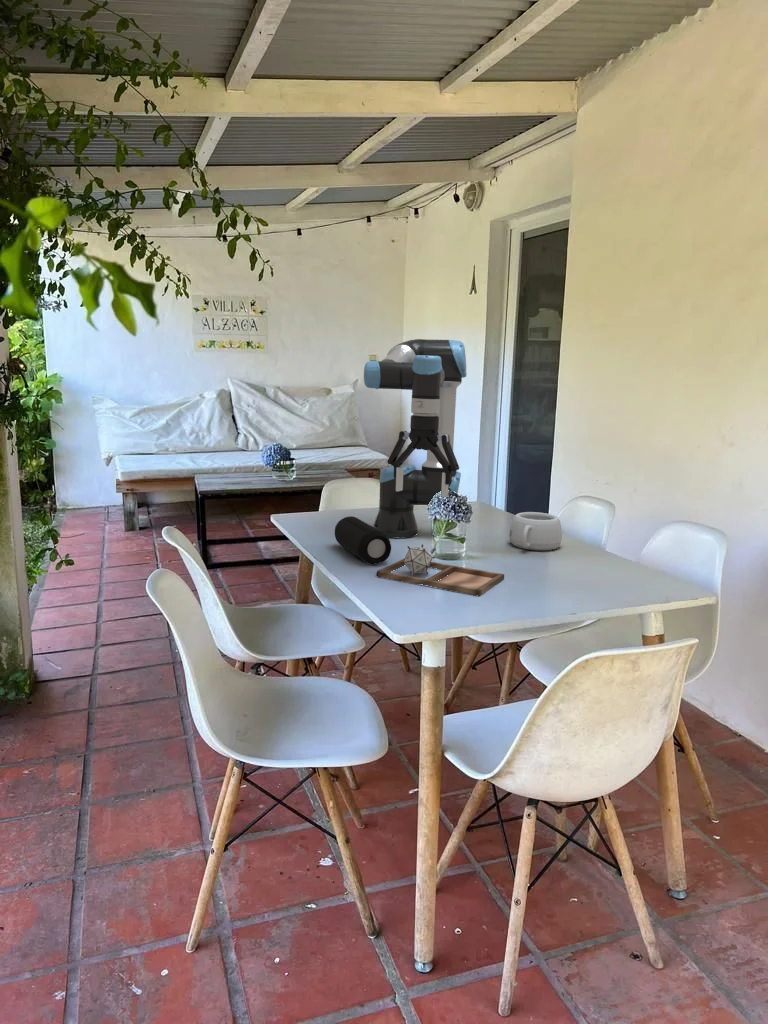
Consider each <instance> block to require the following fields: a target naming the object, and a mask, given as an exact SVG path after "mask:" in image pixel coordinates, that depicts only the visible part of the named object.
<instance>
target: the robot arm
mask: <svg viewBox="0 0 768 1024" xmlns="http://www.w3.org/2000/svg"><path fill="white" fill-rule="evenodd" d="M466 377H467V356H466V349H465V344H464V342H462V341H461V340H454V339H422V338H416V339H409V340H406V341H403V342H400V343H397V344H396V345H394V346H393V347H391V348H390V349H389V351H388V352H387V355H386V356H385V357H384V358H383V359H381V360H369V361H366V362H365V364H364V368H363V382H364V386H365V387H366V388H369V389H375V390H379V389H383V390H385V389H386V390H403V391H404V390H408V391H411V402H410V403H411V404H410V405H411V406H410V413H412V415H411V416H410V424H409V425H410V432H409V431H407V430H401V431H399V434H398V438H397V439H398V440H397V441H396V444H395V445H394V447H393V449H392V451H391V454H390V456H389V457H388V459H387V464H388V465H389V466H385V467H384V468H382V469H381V471H380V476H379V477H380V478H379V482H378V483H379V502H378V503H379V506H378V509H379V510H378V513H377V516H376V518H375V522H374V524H373V527H374V528H376V529H377V530H379V531H381V532H383V533H384V534H386V535H387V536H388V537H410V538H412V537H411V536H414V535H416V534H417V533H418V532H419V526H418V523H417V520H416V516H415V512H414V510H415V509H414V506H415V505H417V506H418V505H419V506H429V505H428V504H429V502H430V501H431V499H432V498H433V496H434V495H435V494H436V493H438V492H440V491H441V497H446V496H448V488H450V489H452V490H453V491H455V492H456V493H457V494H458V493H459V489H460V483H461V477H462V473H461V472H460V471H459V470H460V466H459V464H458V460H457V458H456V455H455V453H454V452H455V451H454V443H455V442H454V440H455V426H456V425H455V423H456V422H455V421H456V406H457V389H458V387H459V386H460V385H461V384H462V383H463V381H462V380H463V379H465V378H466ZM408 439H409V440H410V443H409V444H408V445H407V447H406V448H405V449H404V451H403V452H402V453H401V451H402V449H403V448H404V446H405V444H406V442H407V440H408ZM415 450H423V451H426V460H425V461H424V462H423V463H422V464H421V469H417V467H416V465H415V464H403V463H405V461H406V460H407V459H408V457H410V456H411V454H412V453H413V452H414V451H415ZM418 534H419V533H418ZM418 534H417V535H418ZM417 535H416V536H417ZM414 537H415V536H414Z"/></svg>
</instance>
